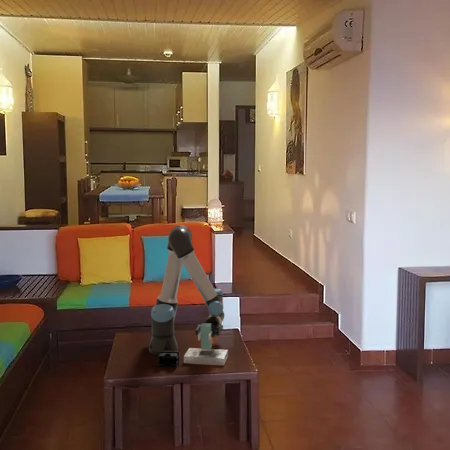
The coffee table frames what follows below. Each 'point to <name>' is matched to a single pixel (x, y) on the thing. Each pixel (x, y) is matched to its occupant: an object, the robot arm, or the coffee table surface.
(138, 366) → the coffee table surface
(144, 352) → the coffee table surface
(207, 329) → the teal post
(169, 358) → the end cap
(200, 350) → the grey rectangular frame
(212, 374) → the coffee table surface
